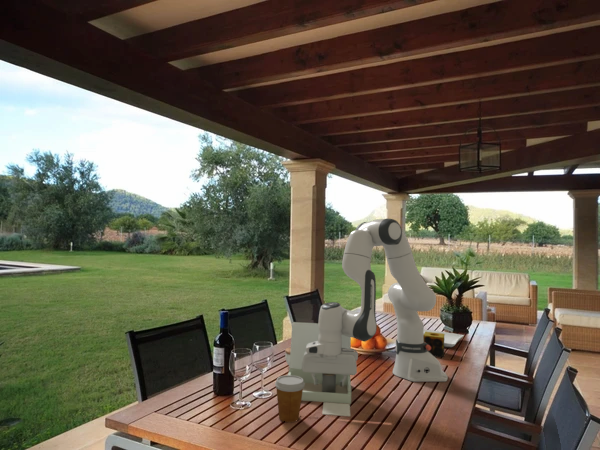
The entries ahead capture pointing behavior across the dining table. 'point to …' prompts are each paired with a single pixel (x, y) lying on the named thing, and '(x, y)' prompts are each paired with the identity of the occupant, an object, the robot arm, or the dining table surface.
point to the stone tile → (336, 409)
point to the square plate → (448, 338)
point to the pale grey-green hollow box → (311, 392)
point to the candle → (435, 343)
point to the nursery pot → (329, 383)
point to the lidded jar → (288, 355)
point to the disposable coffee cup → (289, 397)
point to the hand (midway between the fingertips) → (328, 385)
